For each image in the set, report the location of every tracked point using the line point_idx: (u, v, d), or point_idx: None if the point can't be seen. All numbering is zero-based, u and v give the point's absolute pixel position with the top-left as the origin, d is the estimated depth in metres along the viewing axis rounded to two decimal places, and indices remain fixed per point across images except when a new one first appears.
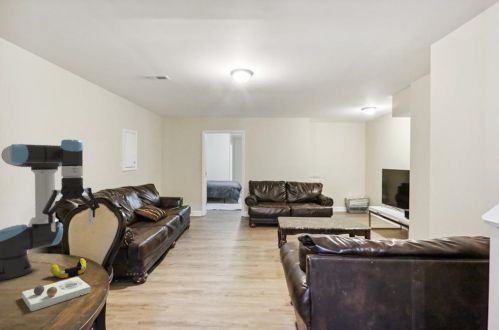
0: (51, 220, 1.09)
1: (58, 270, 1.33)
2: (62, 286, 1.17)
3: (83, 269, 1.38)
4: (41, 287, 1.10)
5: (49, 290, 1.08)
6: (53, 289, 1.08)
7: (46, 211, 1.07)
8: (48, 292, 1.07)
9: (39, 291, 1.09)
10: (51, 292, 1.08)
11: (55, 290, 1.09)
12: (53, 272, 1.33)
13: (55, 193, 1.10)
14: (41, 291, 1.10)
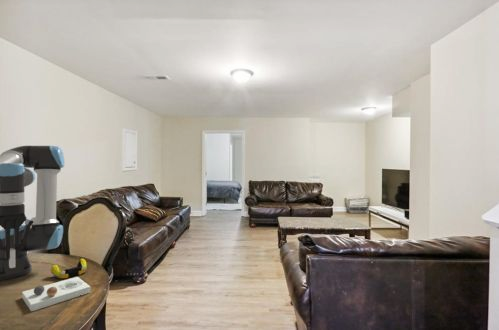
0: (9, 256, 1.03)
1: (58, 270, 1.32)
2: (62, 286, 1.17)
3: (83, 269, 1.37)
4: (41, 287, 1.10)
5: (49, 290, 1.08)
6: (53, 289, 1.08)
7: (1, 247, 1.01)
8: (48, 292, 1.07)
9: (39, 291, 1.09)
10: (51, 292, 1.08)
11: (55, 290, 1.09)
12: (53, 272, 1.32)
13: None
14: (41, 291, 1.10)
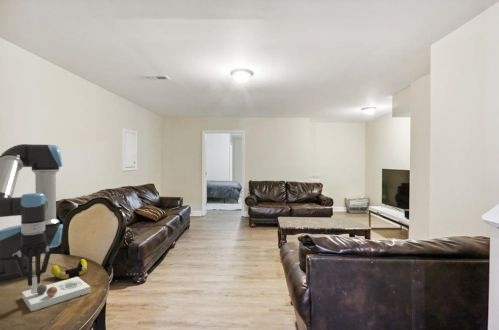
0: (31, 282, 1.08)
1: (59, 271, 1.32)
2: (62, 286, 1.17)
3: (84, 270, 1.37)
4: (45, 287, 1.11)
5: (49, 290, 1.08)
6: (53, 289, 1.08)
7: (24, 274, 1.06)
8: (48, 292, 1.07)
9: (42, 290, 1.10)
10: (51, 292, 1.08)
11: (55, 290, 1.09)
12: (54, 273, 1.32)
13: (17, 257, 1.04)
14: (43, 291, 1.10)
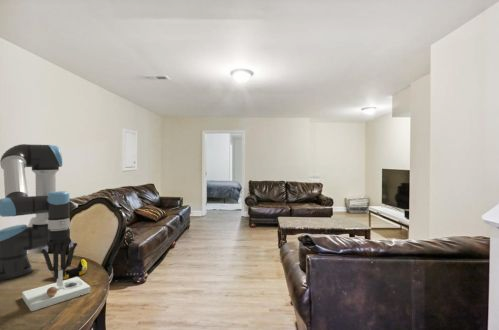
0: (57, 275, 1.14)
1: None
2: (62, 286, 1.17)
3: (84, 270, 1.37)
4: None
5: (49, 290, 1.08)
6: (53, 289, 1.08)
7: (51, 268, 1.12)
8: (48, 292, 1.07)
9: None
10: (51, 292, 1.08)
11: (55, 290, 1.09)
12: None
13: (44, 252, 1.11)
14: None
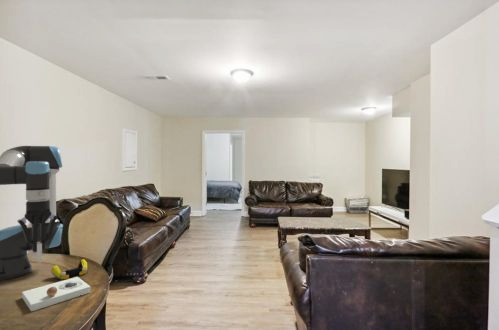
0: (36, 248, 1.10)
1: (59, 271, 1.31)
2: (62, 286, 1.17)
3: (84, 270, 1.36)
4: (71, 284, 1.19)
5: (49, 290, 1.08)
6: (53, 289, 1.08)
7: (29, 240, 1.07)
8: (48, 292, 1.07)
9: None
10: (51, 292, 1.08)
11: (55, 290, 1.09)
12: (54, 273, 1.31)
13: (22, 223, 1.06)
14: None
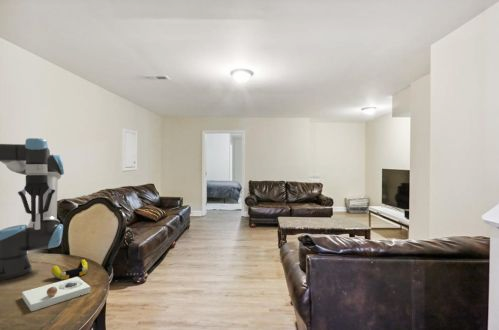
0: (34, 219, 1.19)
1: (59, 272, 1.31)
2: (62, 286, 1.17)
3: (84, 271, 1.36)
4: (71, 284, 1.19)
5: (49, 290, 1.08)
6: (53, 289, 1.08)
7: (28, 210, 1.17)
8: (48, 292, 1.07)
9: None
10: (51, 292, 1.08)
11: (55, 290, 1.09)
12: (54, 274, 1.31)
13: (22, 194, 1.15)
14: None
